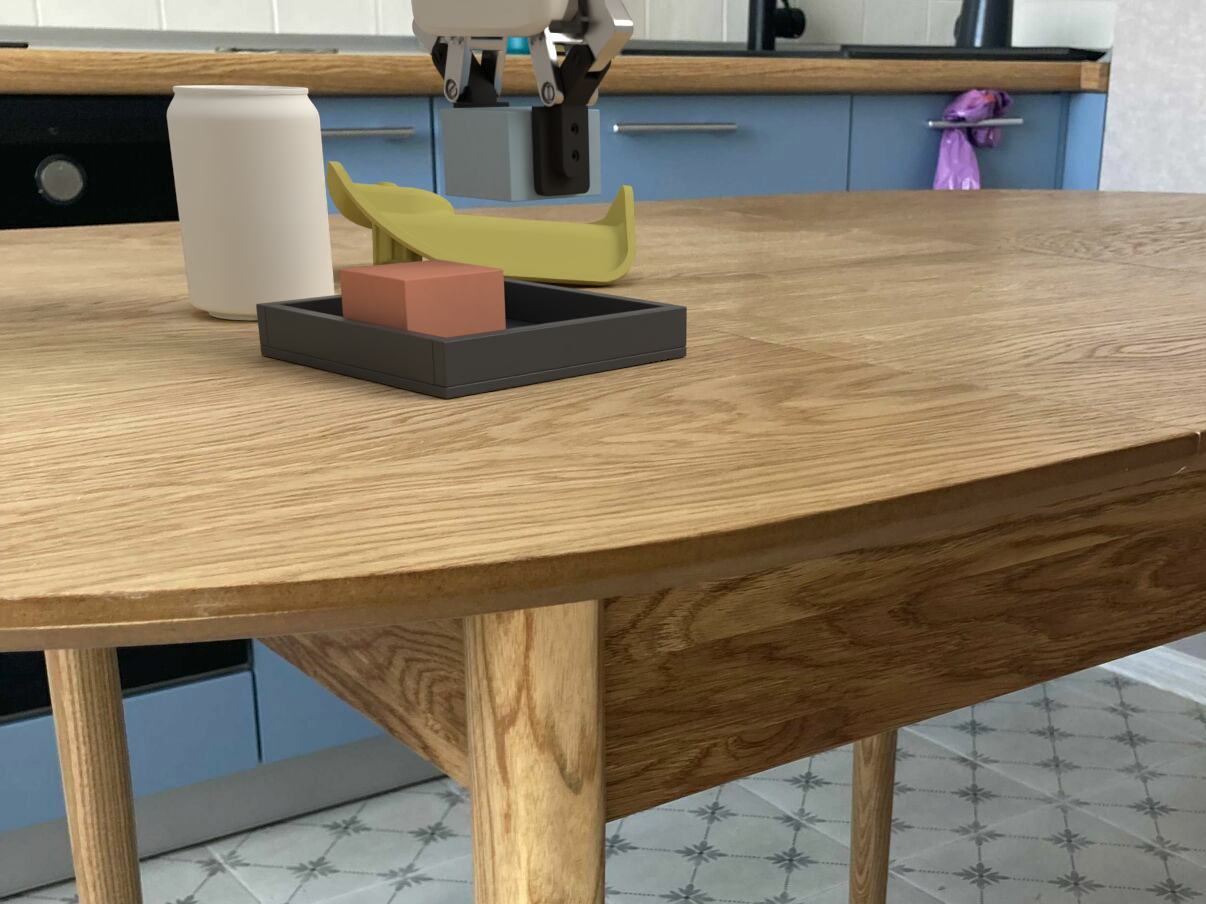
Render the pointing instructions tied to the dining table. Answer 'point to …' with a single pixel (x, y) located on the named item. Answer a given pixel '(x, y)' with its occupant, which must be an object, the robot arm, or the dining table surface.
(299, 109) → the beverage can
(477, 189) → the slate blue box block
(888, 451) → the dining table surface
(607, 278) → the plastic component
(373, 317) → the coral box block
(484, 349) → the backing tray
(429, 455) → the dining table surface
